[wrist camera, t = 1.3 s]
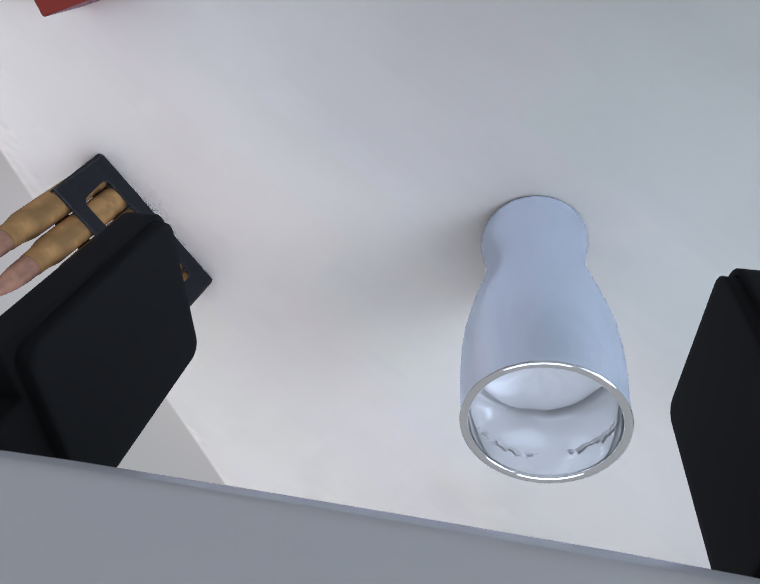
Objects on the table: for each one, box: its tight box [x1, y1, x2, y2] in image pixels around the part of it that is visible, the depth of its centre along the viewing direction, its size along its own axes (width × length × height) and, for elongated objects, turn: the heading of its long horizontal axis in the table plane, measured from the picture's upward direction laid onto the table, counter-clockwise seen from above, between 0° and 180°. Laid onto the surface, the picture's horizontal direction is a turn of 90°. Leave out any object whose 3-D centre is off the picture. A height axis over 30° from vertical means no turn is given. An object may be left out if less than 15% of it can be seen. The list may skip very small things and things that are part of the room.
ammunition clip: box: [0, 154, 212, 307], centre depth 35 cm, size 11×2×12 cm, turn 34°
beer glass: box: [459, 196, 634, 483], centre depth 30 cm, size 7×7×15 cm
